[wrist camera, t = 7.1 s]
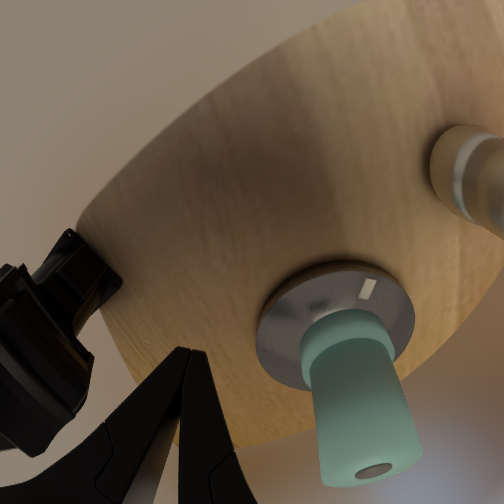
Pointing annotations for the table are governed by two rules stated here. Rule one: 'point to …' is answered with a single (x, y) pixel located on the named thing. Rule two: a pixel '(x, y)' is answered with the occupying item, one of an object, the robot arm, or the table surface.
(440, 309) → the table surface
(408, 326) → the turntable
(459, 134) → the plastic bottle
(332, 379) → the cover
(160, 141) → the table surface
